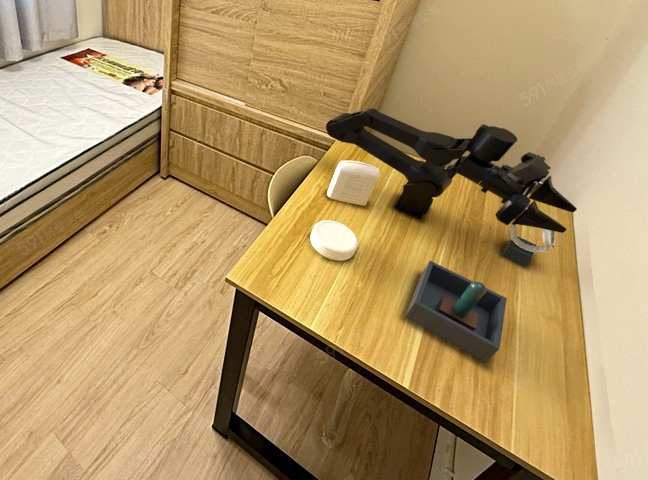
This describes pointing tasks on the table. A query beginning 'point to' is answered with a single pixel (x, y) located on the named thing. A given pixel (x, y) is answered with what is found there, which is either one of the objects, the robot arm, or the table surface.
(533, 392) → the table surface
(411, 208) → the robot arm
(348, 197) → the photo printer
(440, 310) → the teal handled stamp
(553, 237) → the watch
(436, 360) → the table surface
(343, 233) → the white thick round disc
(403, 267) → the table surface
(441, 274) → the basket
